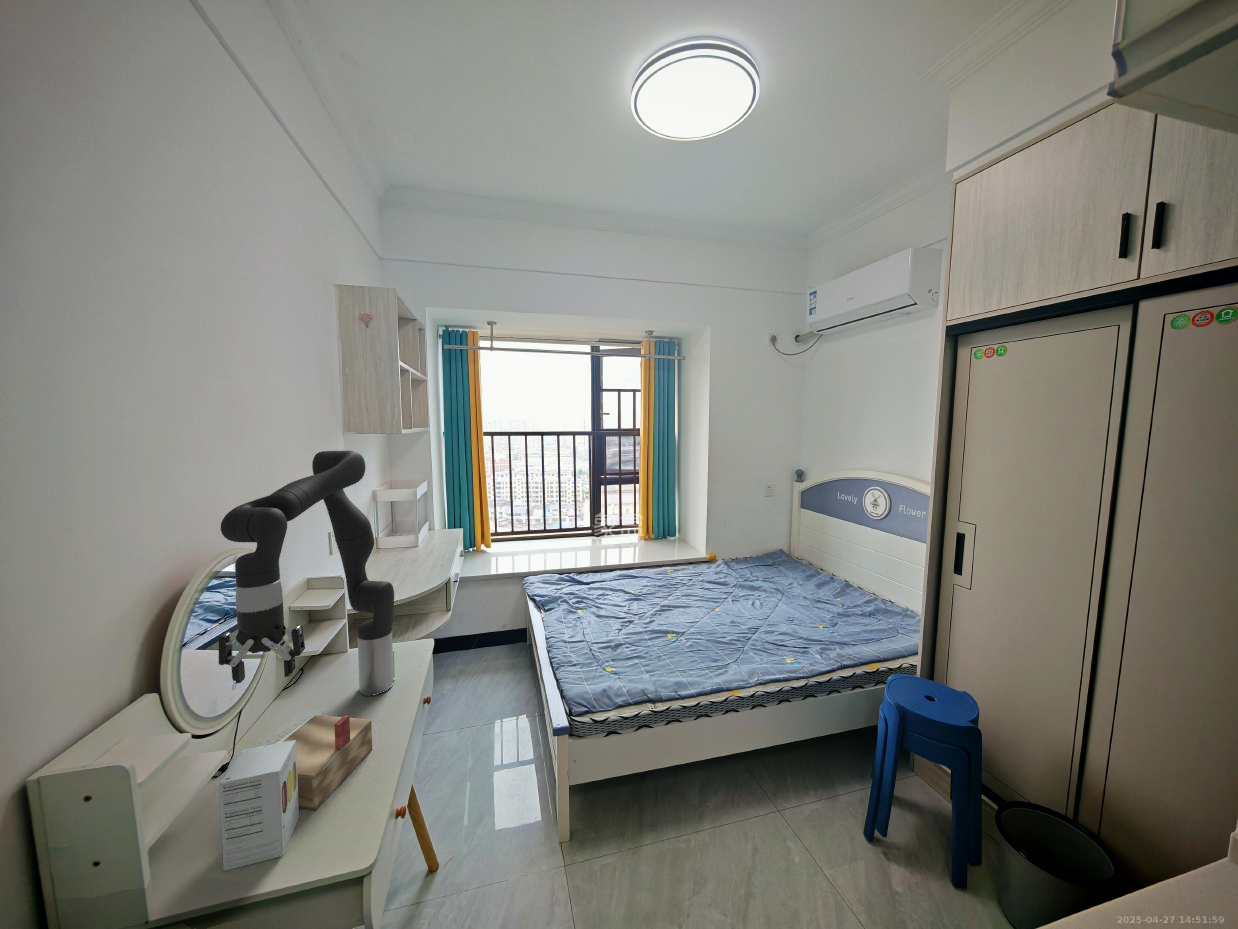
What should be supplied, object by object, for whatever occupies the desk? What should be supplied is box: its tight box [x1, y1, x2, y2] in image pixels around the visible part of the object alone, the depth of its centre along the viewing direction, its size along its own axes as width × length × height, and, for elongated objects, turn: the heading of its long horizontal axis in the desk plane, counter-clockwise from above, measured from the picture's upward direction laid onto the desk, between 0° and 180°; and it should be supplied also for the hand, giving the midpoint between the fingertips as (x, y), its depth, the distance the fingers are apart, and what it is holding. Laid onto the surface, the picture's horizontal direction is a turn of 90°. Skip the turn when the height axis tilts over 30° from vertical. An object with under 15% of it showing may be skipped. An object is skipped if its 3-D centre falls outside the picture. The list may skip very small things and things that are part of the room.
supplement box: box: [218, 740, 300, 871], centre depth 86 cm, size 10×9×17 cm
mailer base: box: [297, 723, 373, 812], centre depth 103 cm, size 18×15×7 cm
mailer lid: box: [283, 714, 372, 779], centre depth 102 cm, size 18×15×7 cm
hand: (264, 678), depth 94 cm, fingers open, 8 cm apart
